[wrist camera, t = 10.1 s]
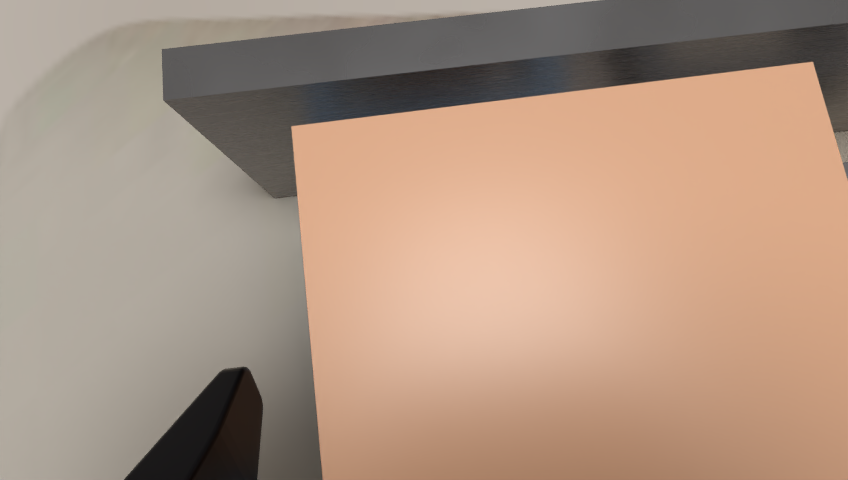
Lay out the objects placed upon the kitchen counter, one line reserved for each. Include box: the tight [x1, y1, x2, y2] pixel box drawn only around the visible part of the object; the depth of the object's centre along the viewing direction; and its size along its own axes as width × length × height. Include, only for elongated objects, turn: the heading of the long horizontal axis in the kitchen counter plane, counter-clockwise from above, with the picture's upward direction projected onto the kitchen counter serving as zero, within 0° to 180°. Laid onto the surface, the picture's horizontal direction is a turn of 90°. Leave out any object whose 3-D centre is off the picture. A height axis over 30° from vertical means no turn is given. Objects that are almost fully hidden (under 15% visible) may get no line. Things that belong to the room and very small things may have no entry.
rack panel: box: [162, 0, 848, 198], centre depth 15 cm, size 1×24×8 cm, turn 97°
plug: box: [291, 62, 848, 480], centre depth 11 cm, size 5×4×14 cm
